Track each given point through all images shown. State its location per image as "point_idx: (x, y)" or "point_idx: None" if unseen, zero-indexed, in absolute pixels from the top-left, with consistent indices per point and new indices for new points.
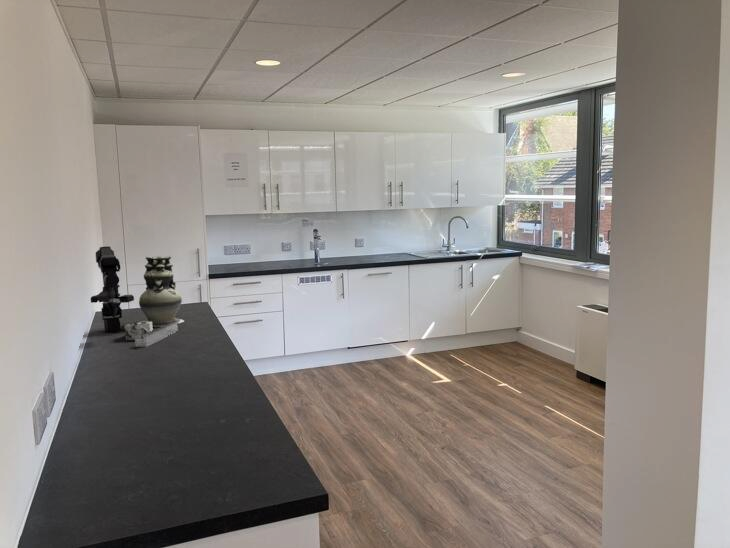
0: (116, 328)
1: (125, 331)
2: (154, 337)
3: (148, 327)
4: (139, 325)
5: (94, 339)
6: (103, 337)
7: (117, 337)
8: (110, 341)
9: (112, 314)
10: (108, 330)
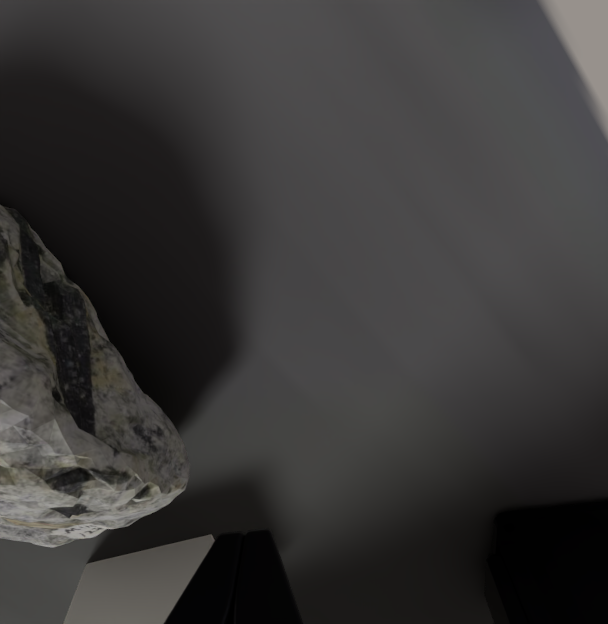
0: (506, 569)
1: (29, 318)
2: None
3: (79, 612)
4: None
5: (563, 173)
6: (490, 296)
7: (284, 325)
8: (206, 98)
9: (242, 588)
10: (585, 523)
